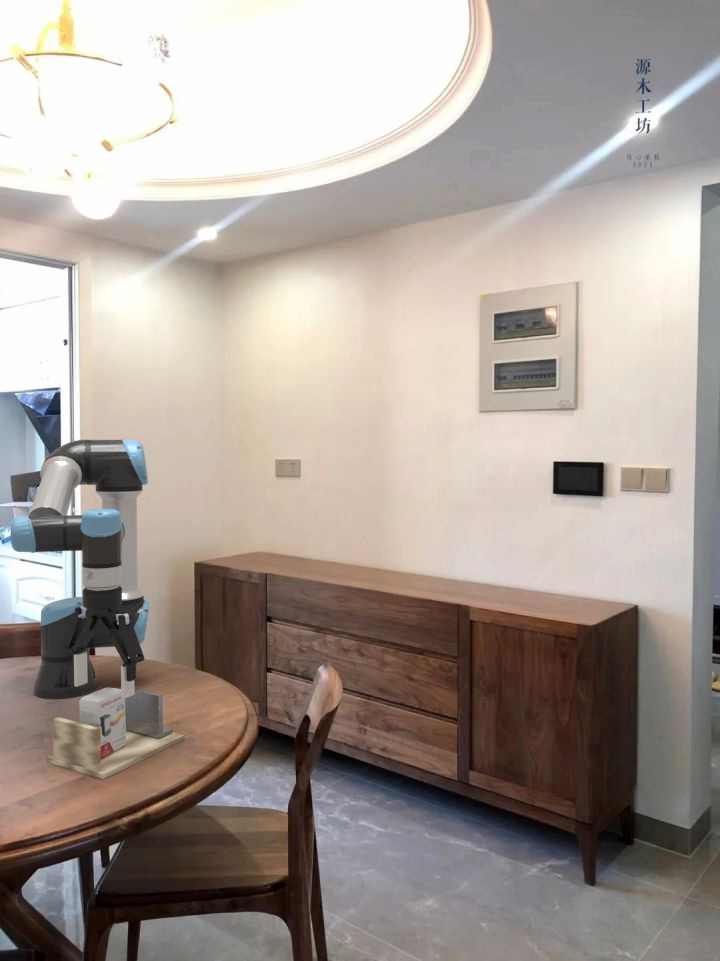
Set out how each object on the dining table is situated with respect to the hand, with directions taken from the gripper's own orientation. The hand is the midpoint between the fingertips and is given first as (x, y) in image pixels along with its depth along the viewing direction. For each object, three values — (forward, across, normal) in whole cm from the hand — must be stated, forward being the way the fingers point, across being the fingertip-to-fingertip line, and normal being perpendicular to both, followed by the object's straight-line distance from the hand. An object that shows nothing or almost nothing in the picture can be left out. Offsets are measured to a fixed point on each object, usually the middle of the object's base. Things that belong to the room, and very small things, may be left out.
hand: (104, 690), depth 150 cm
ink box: (+13, 0, 0) cm, 13 cm away
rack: (+14, 0, +3) cm, 14 cm away
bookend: (+12, 0, +12) cm, 17 cm away
